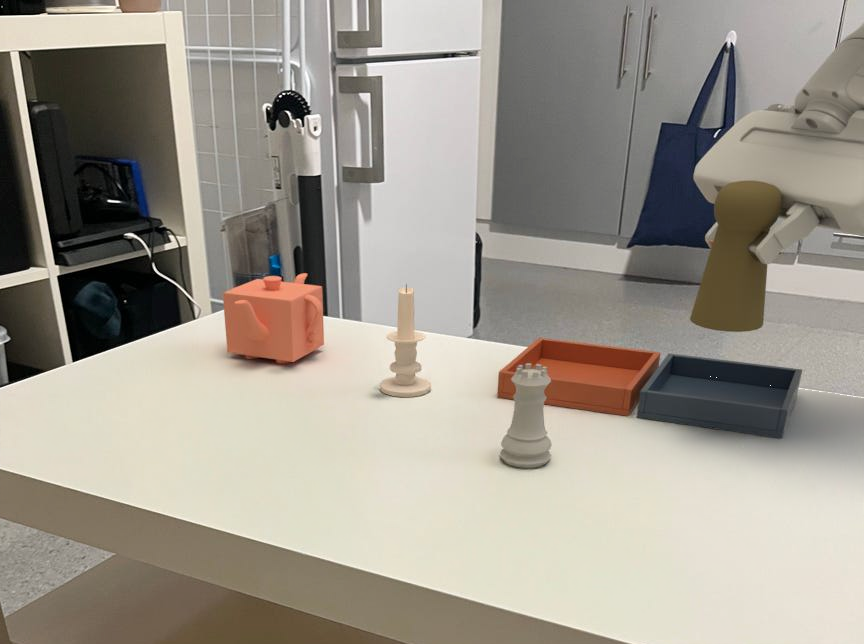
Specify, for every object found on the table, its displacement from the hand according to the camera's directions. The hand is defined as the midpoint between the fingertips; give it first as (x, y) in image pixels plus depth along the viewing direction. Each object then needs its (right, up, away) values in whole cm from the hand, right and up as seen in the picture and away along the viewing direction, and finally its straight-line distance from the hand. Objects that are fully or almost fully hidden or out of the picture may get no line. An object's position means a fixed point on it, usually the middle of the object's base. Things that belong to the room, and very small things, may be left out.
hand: (734, 252), depth 83 cm
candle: (-27, -6, +20) cm, 34 cm away
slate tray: (+4, -9, +16) cm, 19 cm away
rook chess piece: (-17, -16, +4) cm, 24 cm away
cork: (0, -5, +4) cm, 6 cm away
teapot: (-41, 0, +31) cm, 51 cm away
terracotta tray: (-9, -6, +21) cm, 23 cm away
